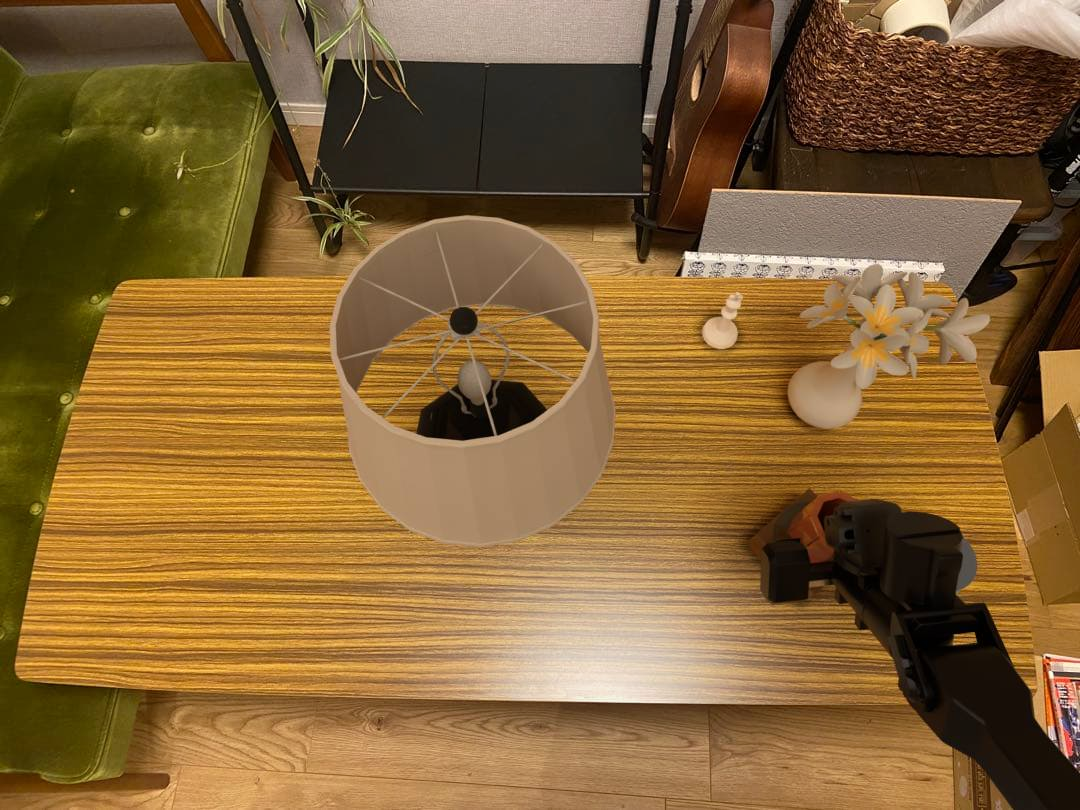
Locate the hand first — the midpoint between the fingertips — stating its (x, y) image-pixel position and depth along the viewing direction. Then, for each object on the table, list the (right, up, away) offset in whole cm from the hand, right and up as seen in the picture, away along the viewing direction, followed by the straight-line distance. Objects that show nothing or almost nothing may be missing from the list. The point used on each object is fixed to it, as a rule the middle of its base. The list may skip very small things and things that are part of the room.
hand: (818, 524), depth 80 cm
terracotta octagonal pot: (0, -2, +2) cm, 2 cm away
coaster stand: (0, -4, +7) cm, 8 cm away
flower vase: (+6, +14, +15) cm, 21 cm away
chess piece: (-6, +24, +20) cm, 31 cm away
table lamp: (-37, +4, +11) cm, 39 cm away
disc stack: (+13, -7, +5) cm, 15 cm away
